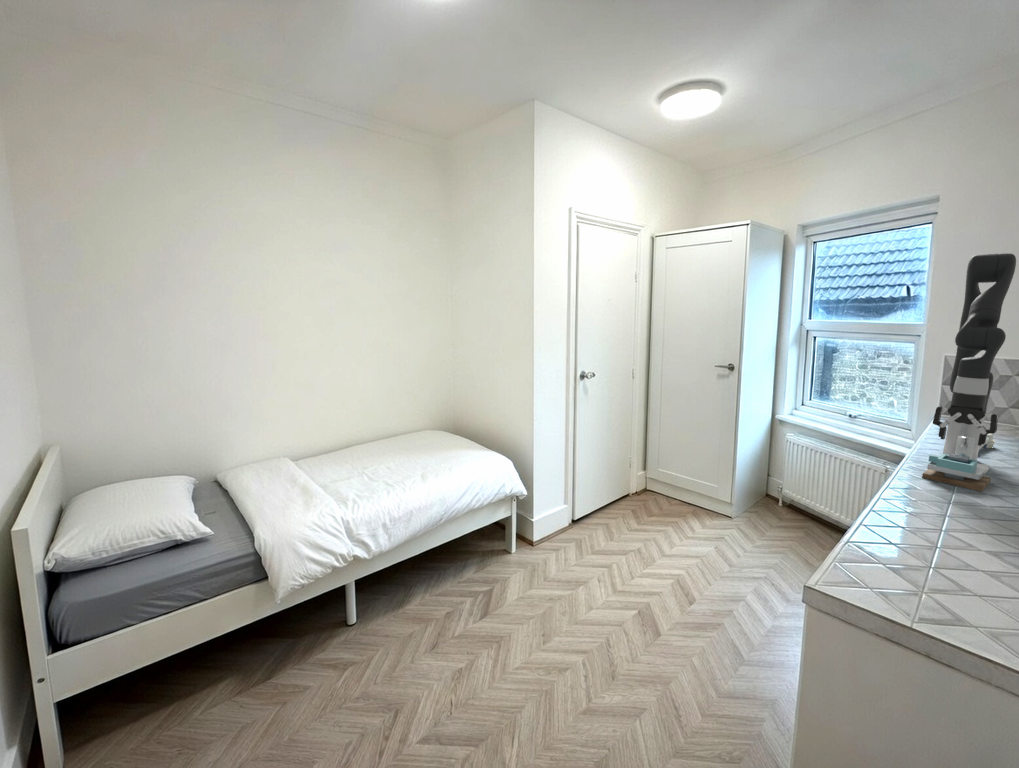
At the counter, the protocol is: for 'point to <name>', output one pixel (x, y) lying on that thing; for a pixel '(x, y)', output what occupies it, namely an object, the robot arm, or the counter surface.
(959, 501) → the counter surface
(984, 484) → the foot plate
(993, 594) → the counter surface
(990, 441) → the cream flanged bar
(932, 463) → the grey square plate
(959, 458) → the brushed steel block
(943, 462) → the bracket head
